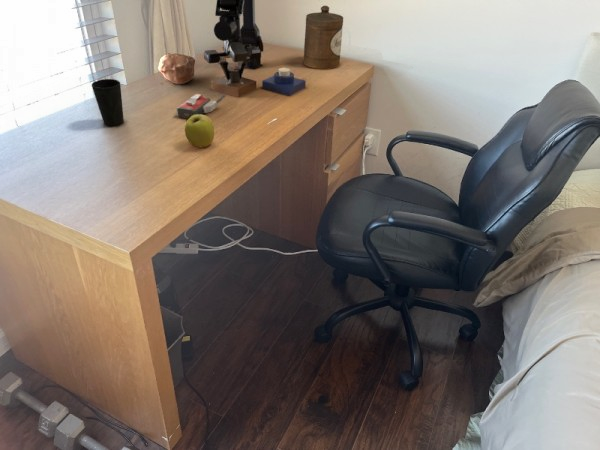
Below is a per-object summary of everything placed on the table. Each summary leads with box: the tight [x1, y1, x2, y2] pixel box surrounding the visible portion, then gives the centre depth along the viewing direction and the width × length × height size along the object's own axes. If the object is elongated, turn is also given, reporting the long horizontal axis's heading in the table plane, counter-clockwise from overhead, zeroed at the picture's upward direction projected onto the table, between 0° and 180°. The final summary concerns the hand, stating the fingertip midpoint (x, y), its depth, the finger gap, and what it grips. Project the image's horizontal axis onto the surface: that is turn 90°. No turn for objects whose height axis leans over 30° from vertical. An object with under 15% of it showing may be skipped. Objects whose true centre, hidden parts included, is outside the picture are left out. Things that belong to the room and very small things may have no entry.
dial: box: [228, 67, 240, 83], centre depth 165 cm, size 4×4×4 cm
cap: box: [278, 67, 291, 77], centre depth 168 cm, size 4×4×2 cm
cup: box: [91, 78, 125, 128], centre depth 139 cm, size 8×8×12 cm
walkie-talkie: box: [176, 93, 226, 120], centre depth 152 cm, size 9×4×20 cm
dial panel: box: [211, 75, 257, 98], centre depth 167 cm, size 12×10×3 cm
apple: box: [184, 114, 215, 148], centre depth 130 cm, size 8×8×10 cm
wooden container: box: [303, 5, 344, 70], centre depth 189 cm, size 15×15×22 cm
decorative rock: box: [157, 52, 196, 85], centre depth 170 cm, size 13×11×10 cm
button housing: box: [261, 71, 307, 97], centre depth 170 cm, size 12×10×5 cm
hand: (233, 79), depth 166 cm, fingers closed on dial, 4 cm apart
